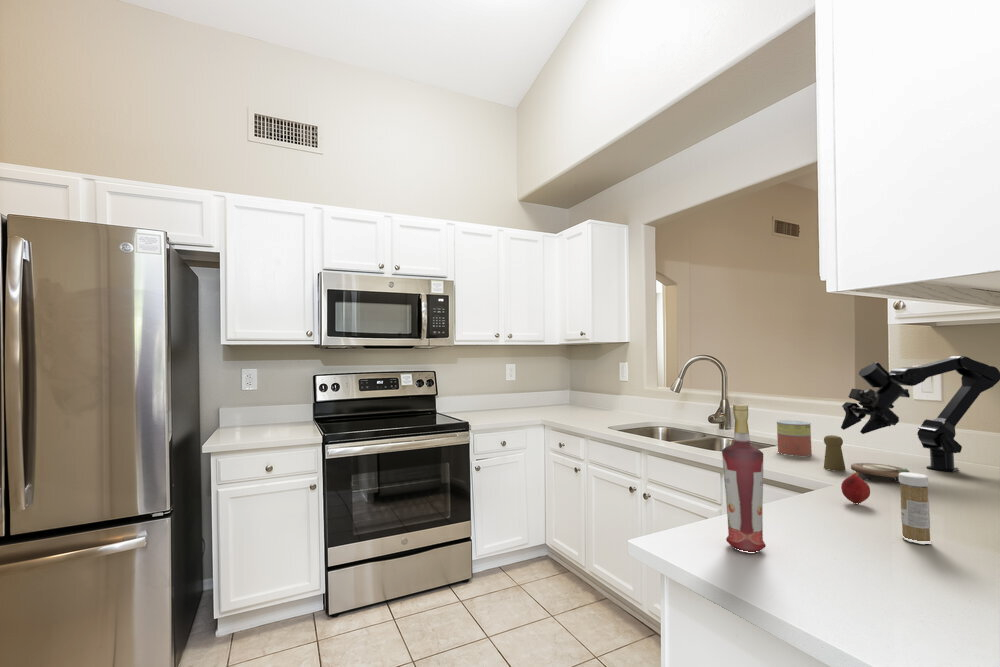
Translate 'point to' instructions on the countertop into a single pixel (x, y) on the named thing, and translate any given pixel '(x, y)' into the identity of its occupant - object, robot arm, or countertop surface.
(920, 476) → the sprinkles bottle
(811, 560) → the countertop surface
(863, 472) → the brown shallow bowl
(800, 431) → the canned food
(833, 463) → the cork
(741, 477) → the liquor
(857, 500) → the onion
